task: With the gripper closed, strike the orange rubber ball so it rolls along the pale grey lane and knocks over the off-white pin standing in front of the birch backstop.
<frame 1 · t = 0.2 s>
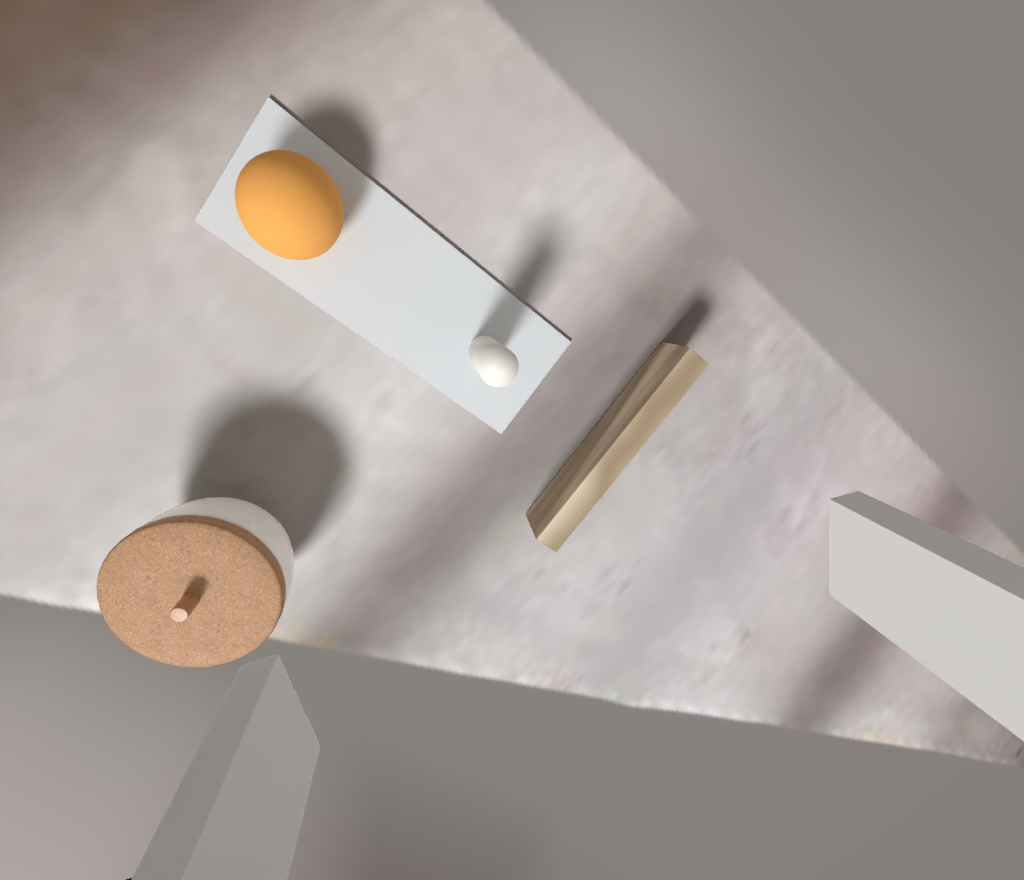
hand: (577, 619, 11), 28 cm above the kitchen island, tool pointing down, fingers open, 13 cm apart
lidded jar: (239, 538, 38), on the kitchen island
ball: (291, 207, 29), on the kitchen island
backstop: (600, 437, 40), on the kitchen island
pin: (484, 351, 36), on the kitchen island
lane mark: (399, 286, 34), on the kitchen island
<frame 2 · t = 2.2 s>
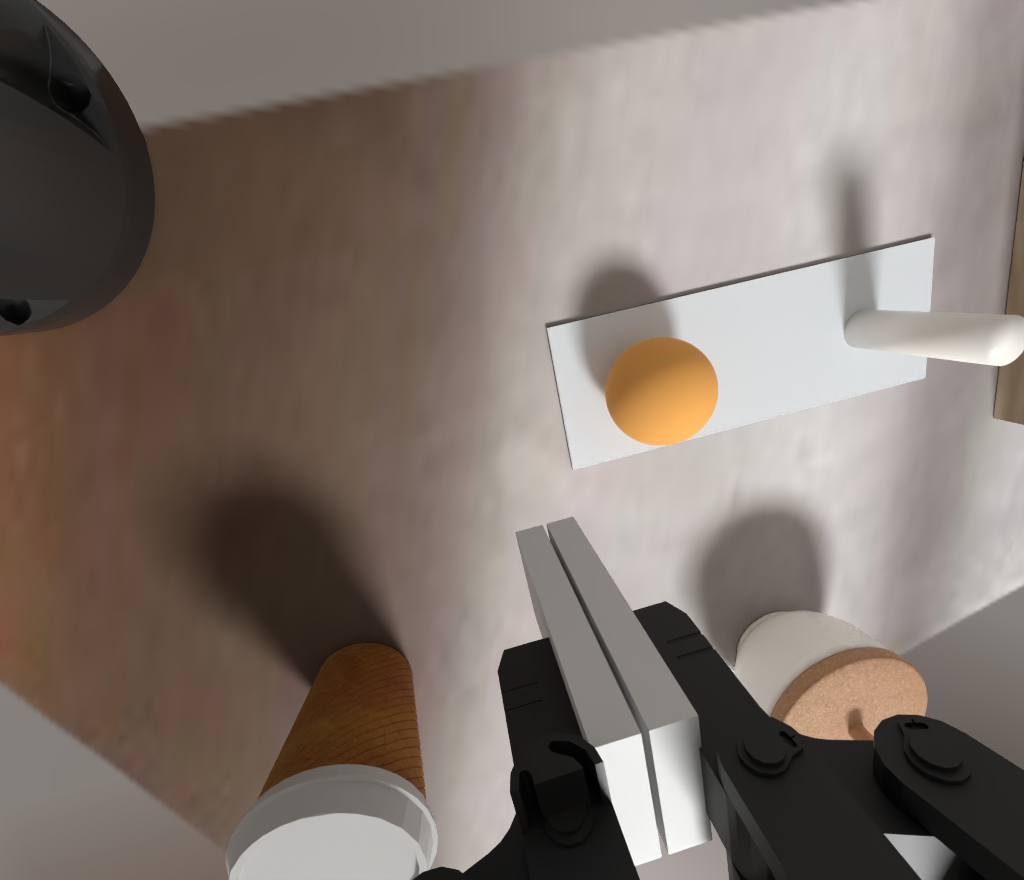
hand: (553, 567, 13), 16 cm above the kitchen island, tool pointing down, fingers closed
lidded jar: (770, 642, 38), on the kitchen island
disposable coffee cup: (365, 678, 33), on the kitchen island
ball: (659, 391, 27), on the kitchen island
backstop: (1021, 287, 32), on the kitchen island
pin: (858, 328, 31), on the kitchen island
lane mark: (749, 354, 30), on the kitchen island
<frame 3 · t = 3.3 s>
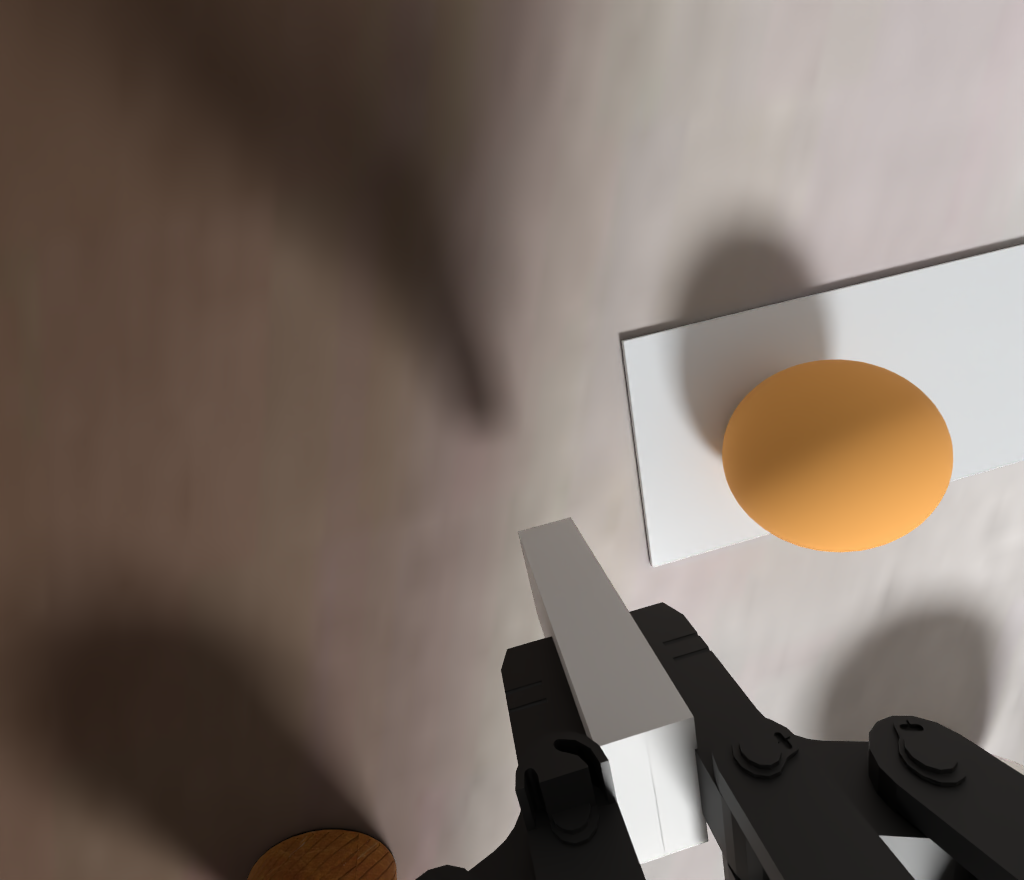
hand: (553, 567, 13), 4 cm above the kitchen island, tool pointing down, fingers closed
disposable coffee cup: (324, 873, 22), on the kitchen island
ball: (825, 455, 15), on the kitchen island
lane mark: (939, 381, 19), on the kitchen island
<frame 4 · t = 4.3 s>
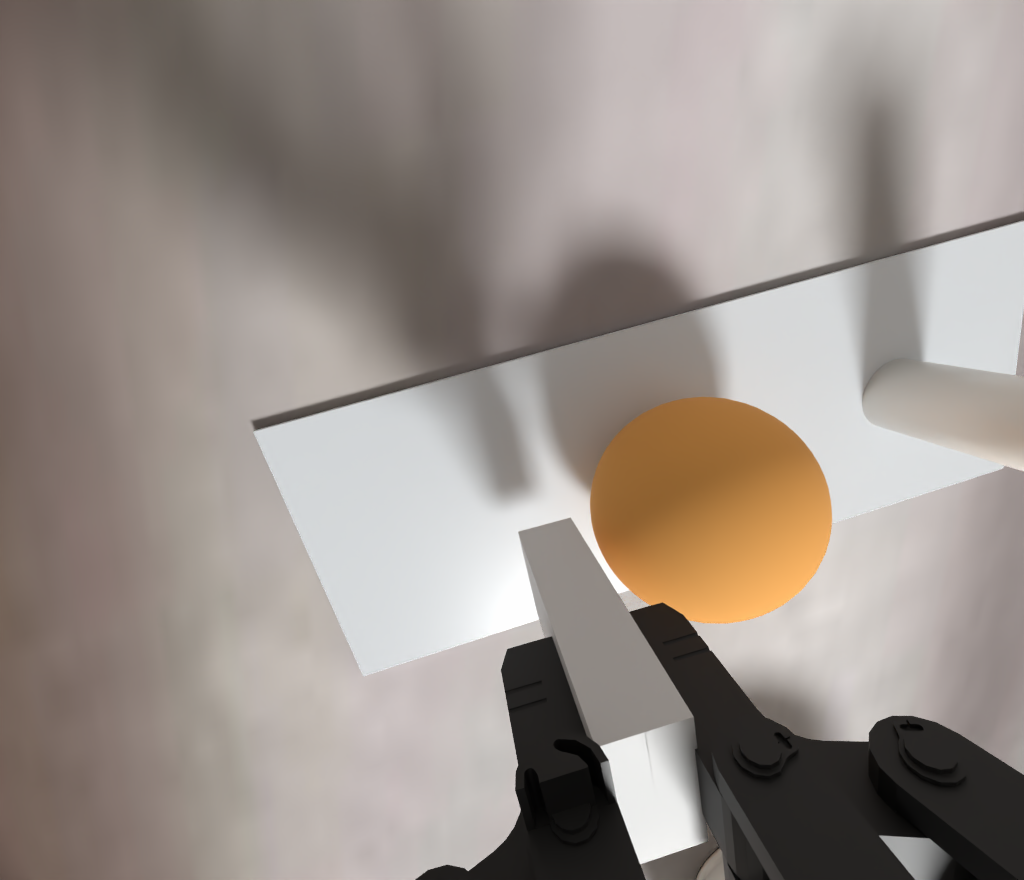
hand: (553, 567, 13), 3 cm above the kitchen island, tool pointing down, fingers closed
lidded jar: (748, 865, 24), on the kitchen island
ball: (700, 506, 13), on the kitchen island
pin: (888, 392, 17), on the kitchen island
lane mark: (687, 451, 16), on the kitchen island
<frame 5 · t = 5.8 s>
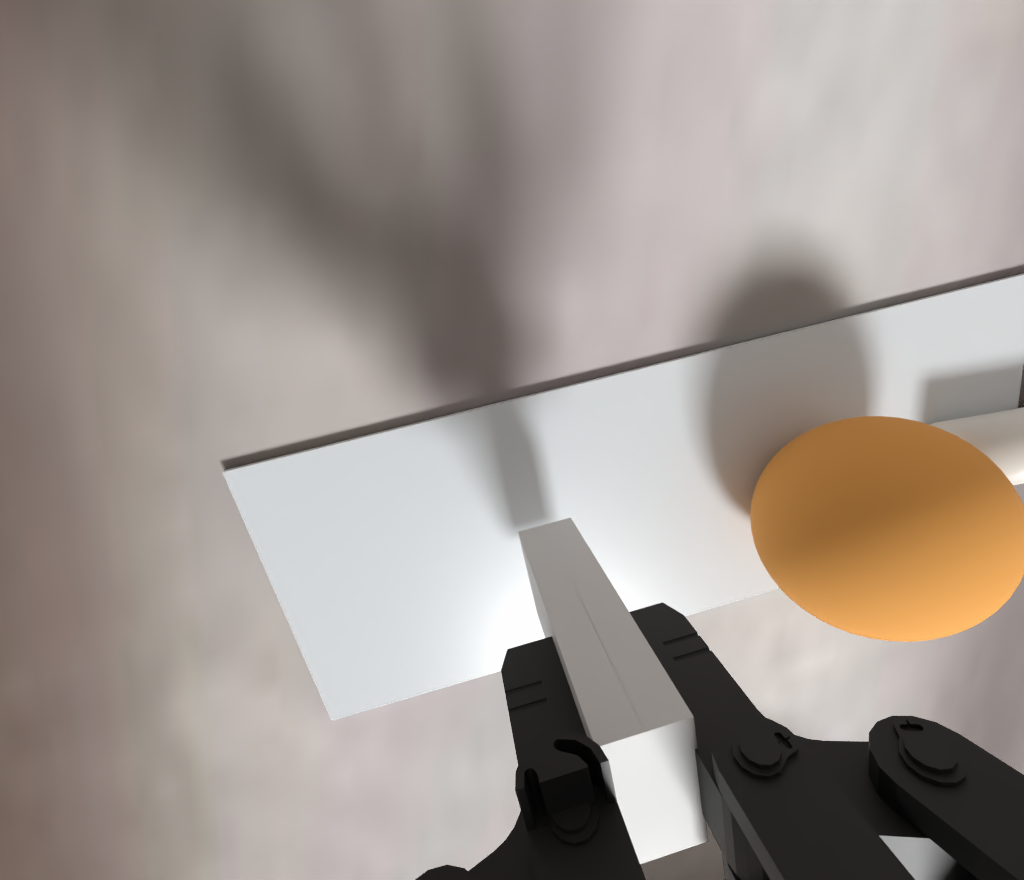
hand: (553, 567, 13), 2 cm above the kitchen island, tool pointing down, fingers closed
ball: (871, 524, 13), on the kitchen island
pin: (947, 458, 15), point 1 cm above the kitchen island, tilted 90°
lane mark: (672, 499, 16), on the kitchen island
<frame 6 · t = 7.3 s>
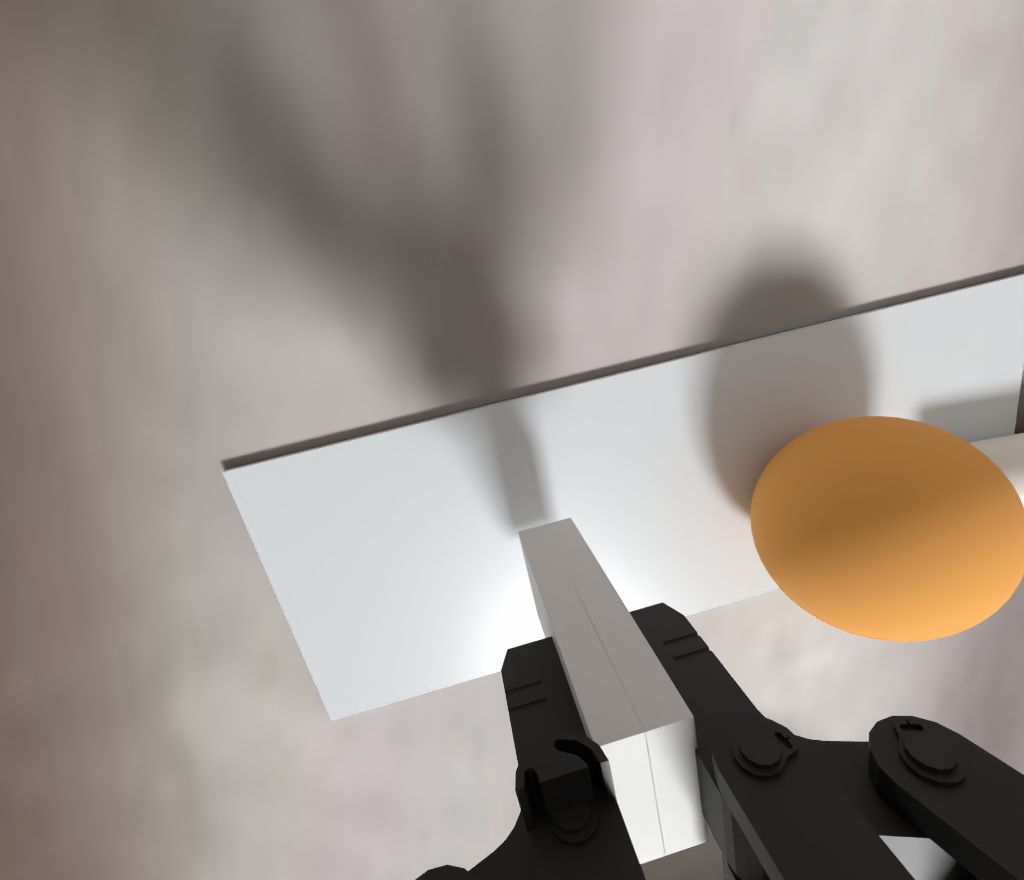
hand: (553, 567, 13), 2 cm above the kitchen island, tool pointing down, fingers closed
ball: (871, 524, 13), on the kitchen island
pin: (942, 485, 16), point 1 cm above the kitchen island, tilted 90°
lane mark: (672, 499, 16), on the kitchen island
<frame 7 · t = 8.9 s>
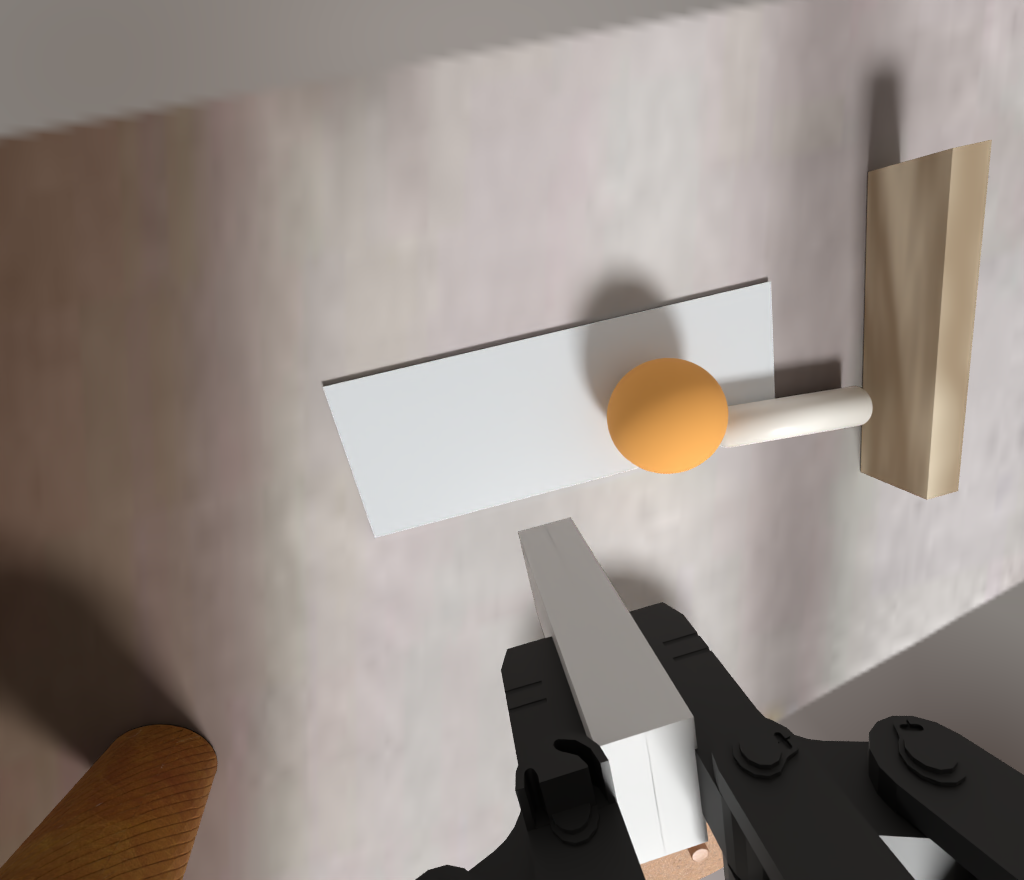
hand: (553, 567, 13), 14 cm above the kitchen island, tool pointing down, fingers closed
lidded jar: (631, 710, 35), on the kitchen island
disposable coffee cup: (164, 760, 30), on the kitchen island
ball: (665, 416, 25), on the kitchen island
backstop: (879, 333, 29), on the kitchen island
pin: (723, 427, 28), point 1 cm above the kitchen island, tilted 90°
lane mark: (569, 410, 27), on the kitchen island
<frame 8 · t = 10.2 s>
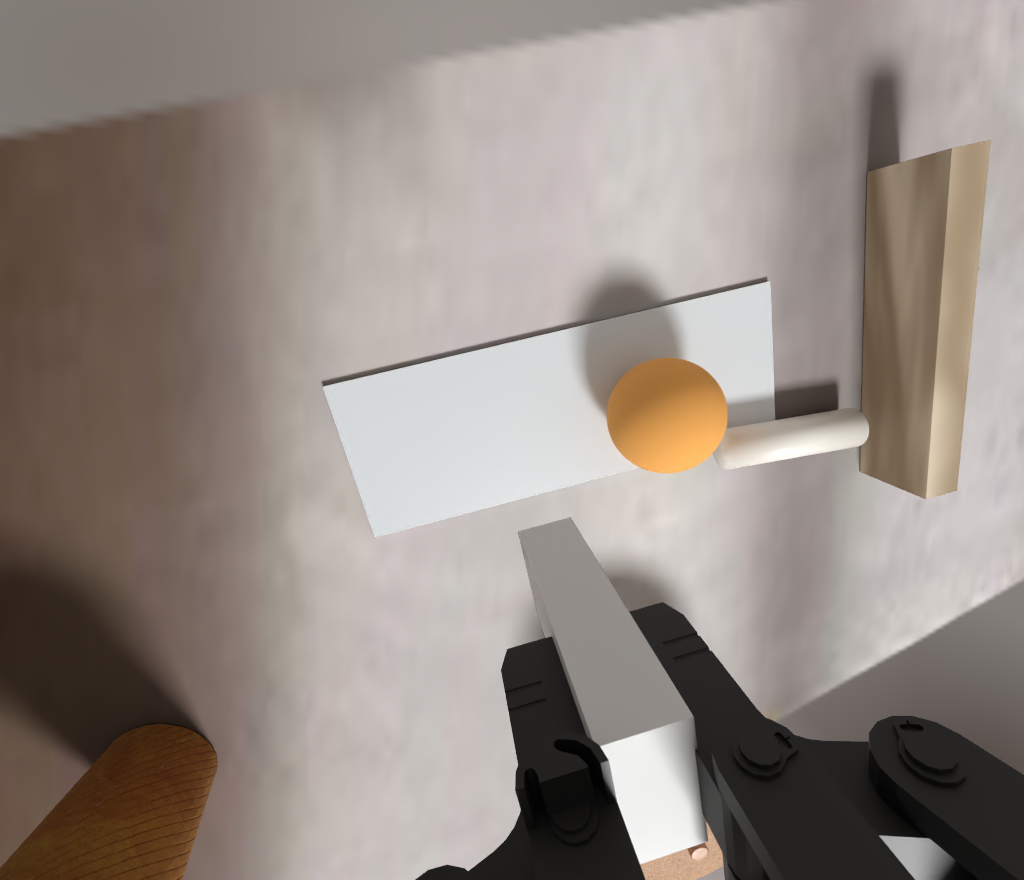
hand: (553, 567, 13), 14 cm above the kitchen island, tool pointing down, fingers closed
lidded jar: (631, 709, 35), on the kitchen island
disposable coffee cup: (164, 760, 30), on the kitchen island
ball: (664, 415, 25), on the kitchen island
backstop: (878, 332, 29), on the kitchen island
pin: (722, 449, 28), point 1 cm above the kitchen island, tilted 90°
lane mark: (568, 410, 27), on the kitchen island
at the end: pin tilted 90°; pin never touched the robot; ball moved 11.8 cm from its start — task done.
